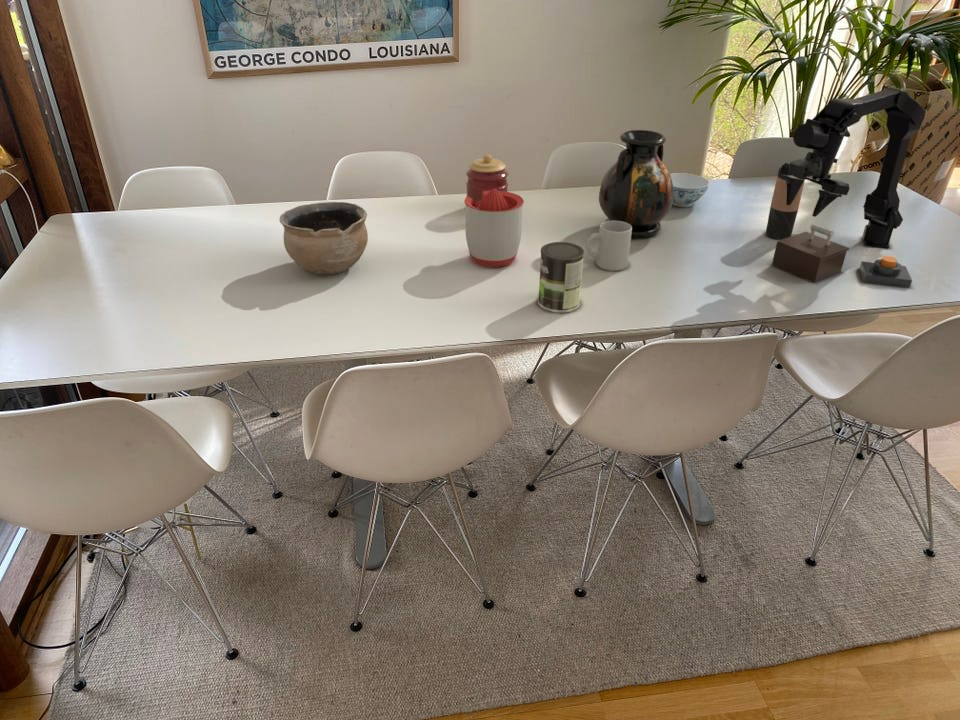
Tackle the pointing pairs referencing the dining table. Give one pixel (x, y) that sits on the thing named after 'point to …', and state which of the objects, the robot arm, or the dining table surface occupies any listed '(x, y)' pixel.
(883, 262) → the release button
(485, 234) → the citrus juicer
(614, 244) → the mug
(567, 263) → the coffee can
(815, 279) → the brown lidded box
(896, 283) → the control block
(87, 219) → the dining table surface
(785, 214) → the travel mug
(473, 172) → the kitchen canister
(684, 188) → the chinaware
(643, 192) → the amphora vase
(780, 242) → the lid
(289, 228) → the ceramic bowl
